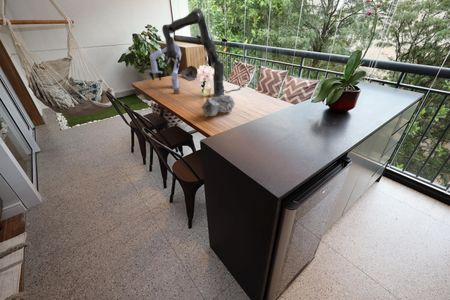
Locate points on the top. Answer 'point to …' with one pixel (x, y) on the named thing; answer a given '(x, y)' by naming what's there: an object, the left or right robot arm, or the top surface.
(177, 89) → the block
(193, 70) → the bark piece
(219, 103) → the rock
